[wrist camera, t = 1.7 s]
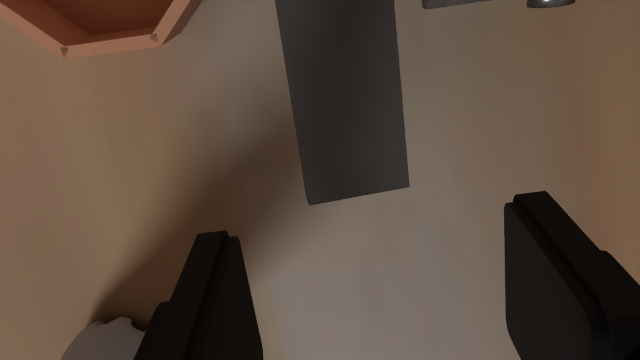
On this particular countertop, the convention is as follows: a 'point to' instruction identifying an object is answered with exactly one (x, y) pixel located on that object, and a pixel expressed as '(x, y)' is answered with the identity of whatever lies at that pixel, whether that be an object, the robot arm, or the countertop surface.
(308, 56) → the trough
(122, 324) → the bottle
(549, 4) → the stand
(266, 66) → the countertop surface
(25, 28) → the pink octagonal bowl
